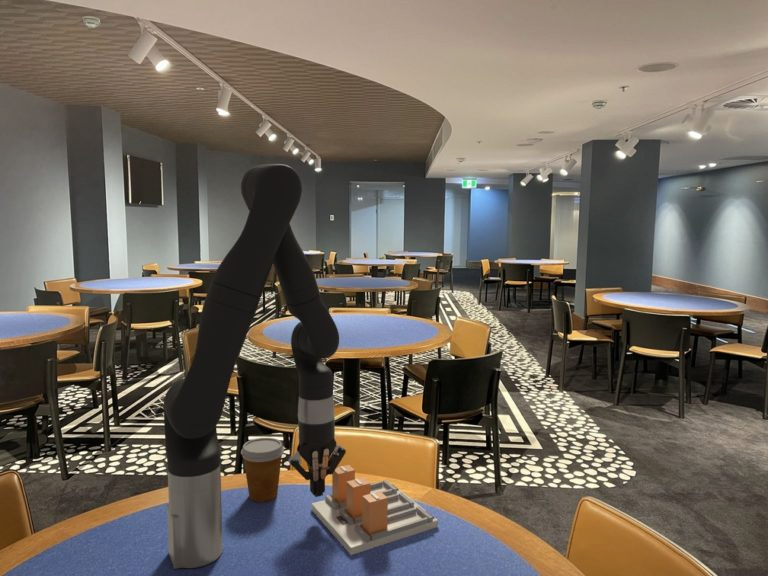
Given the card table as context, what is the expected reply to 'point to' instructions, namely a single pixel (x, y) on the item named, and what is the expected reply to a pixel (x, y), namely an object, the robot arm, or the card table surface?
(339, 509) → the switch bank
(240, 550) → the card table surface
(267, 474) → the disposable coffee cup
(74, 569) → the card table surface
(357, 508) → the tab mid
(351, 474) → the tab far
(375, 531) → the tab near
